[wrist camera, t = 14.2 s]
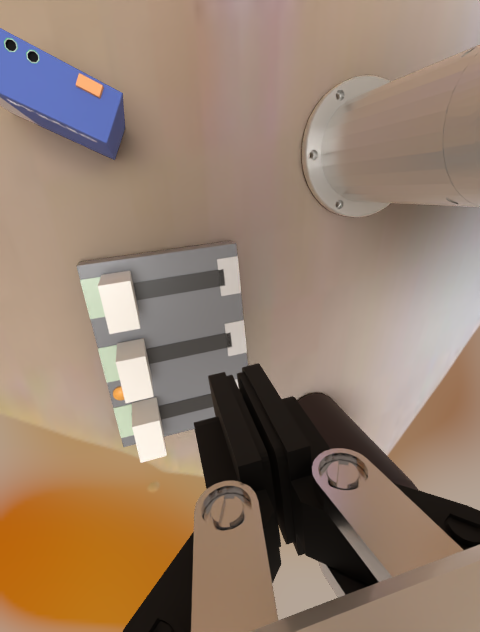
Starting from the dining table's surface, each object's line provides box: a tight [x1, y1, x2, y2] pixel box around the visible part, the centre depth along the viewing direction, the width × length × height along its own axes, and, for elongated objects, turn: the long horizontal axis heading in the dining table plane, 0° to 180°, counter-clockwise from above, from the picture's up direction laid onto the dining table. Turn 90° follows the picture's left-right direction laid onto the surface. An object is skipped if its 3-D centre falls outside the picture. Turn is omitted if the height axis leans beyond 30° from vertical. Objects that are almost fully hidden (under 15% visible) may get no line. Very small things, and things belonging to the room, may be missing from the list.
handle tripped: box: [116, 338, 154, 403], centre depth 32 cm, size 2×4×4 cm, turn 6°
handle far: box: [132, 397, 167, 463], centre depth 34 cm, size 2×4×4 cm, turn 6°
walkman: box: [0, 28, 125, 160], centre depth 23 cm, size 8×3×12 cm, turn 66°
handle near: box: [98, 271, 140, 334], centre depth 30 cm, size 2×4×4 cm, turn 6°
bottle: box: [298, 393, 418, 490], centre depth 36 cm, size 7×7×20 cm
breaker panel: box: [77, 241, 248, 447], centre depth 36 cm, size 14×19×2 cm
